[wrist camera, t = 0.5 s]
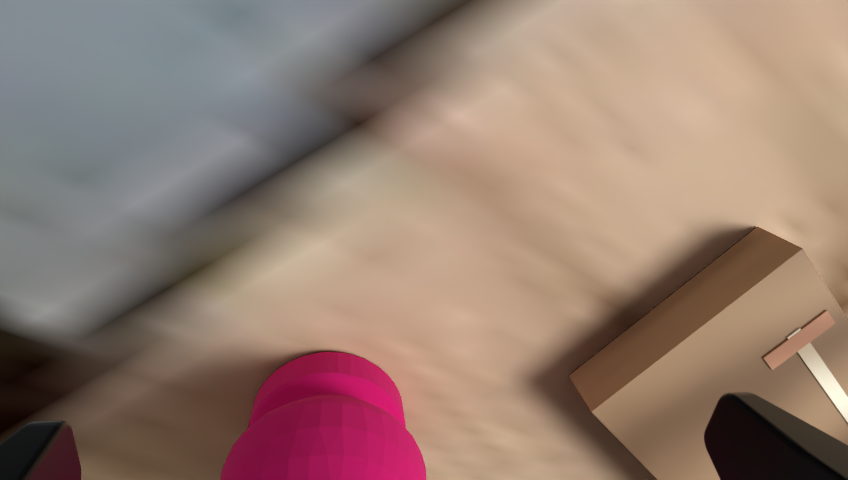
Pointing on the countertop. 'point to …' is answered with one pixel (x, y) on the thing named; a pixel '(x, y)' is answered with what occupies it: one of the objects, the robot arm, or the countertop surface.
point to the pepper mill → (326, 425)
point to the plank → (723, 356)
